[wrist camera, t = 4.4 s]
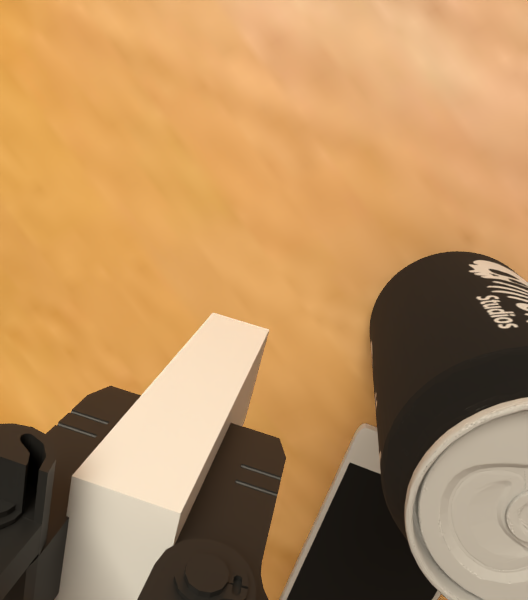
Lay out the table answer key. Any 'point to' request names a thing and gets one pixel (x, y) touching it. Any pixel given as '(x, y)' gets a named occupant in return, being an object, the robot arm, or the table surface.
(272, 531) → the table surface
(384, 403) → the beverage can
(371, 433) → the smartphone
